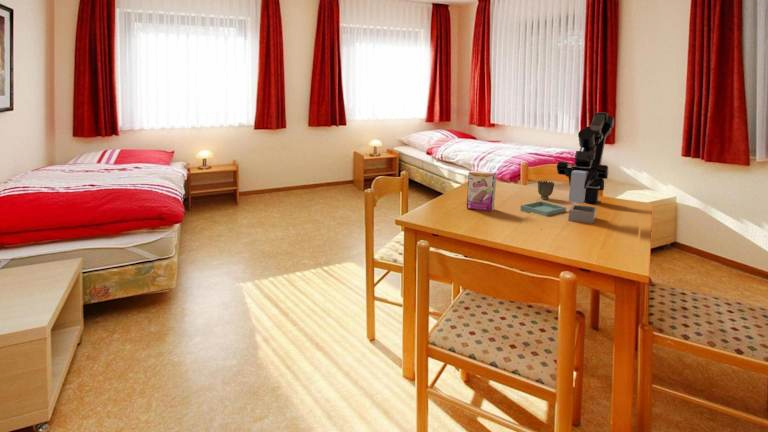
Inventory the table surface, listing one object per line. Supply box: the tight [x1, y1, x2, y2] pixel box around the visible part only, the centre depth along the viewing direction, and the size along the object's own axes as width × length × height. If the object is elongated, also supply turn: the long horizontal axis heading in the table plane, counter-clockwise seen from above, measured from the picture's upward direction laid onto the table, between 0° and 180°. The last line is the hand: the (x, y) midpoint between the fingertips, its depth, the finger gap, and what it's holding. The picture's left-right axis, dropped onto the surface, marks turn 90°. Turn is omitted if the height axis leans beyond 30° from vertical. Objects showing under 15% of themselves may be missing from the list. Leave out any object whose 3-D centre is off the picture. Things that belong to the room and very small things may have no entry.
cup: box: [537, 180, 555, 200], centre depth 218 cm, size 8×7×8 cm
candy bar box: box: [466, 170, 497, 212], centre depth 200 cm, size 11×5×16 cm, turn 65°
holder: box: [567, 204, 597, 224], centre depth 184 cm, size 9×9×5 cm
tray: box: [520, 200, 567, 217], centre depth 198 cm, size 13×13×2 cm
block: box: [568, 170, 588, 205], centre depth 183 cm, size 5×5×12 cm
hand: (577, 187), depth 182 cm, fingers closed on block, 5 cm apart
